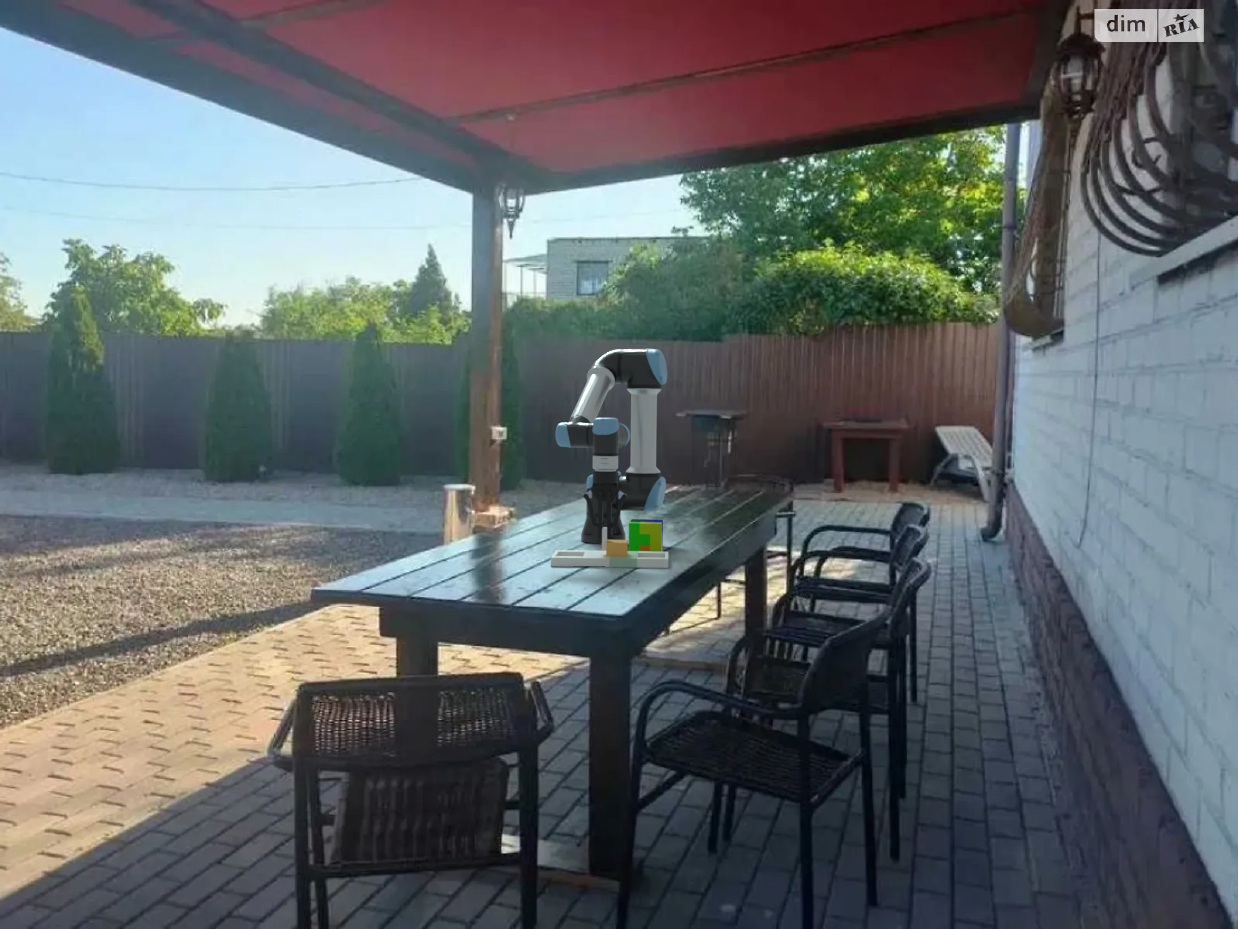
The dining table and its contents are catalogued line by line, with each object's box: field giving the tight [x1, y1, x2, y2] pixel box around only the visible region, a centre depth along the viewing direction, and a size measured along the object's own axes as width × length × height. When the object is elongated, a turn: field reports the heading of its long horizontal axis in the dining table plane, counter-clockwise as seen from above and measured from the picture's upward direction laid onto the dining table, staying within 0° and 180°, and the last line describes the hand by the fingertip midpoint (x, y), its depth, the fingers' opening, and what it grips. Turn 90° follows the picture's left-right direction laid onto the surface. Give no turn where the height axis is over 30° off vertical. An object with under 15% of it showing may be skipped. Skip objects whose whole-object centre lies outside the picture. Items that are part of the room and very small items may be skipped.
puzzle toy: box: [628, 518, 664, 552], centre depth 317 cm, size 10×10×10 cm
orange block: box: [605, 539, 629, 557], centre depth 298 cm, size 6×6×4 cm
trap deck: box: [550, 549, 669, 569], centre depth 298 cm, size 14×34×2 cm, turn 87°
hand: (604, 549), depth 298 cm, fingers closed
